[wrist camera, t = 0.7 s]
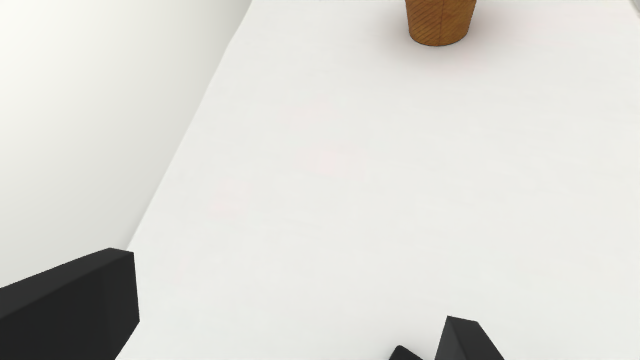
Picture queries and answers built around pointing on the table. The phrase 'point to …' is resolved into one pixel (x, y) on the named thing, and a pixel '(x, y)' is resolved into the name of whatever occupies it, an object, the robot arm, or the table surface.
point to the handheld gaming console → (403, 354)
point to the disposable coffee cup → (439, 20)
